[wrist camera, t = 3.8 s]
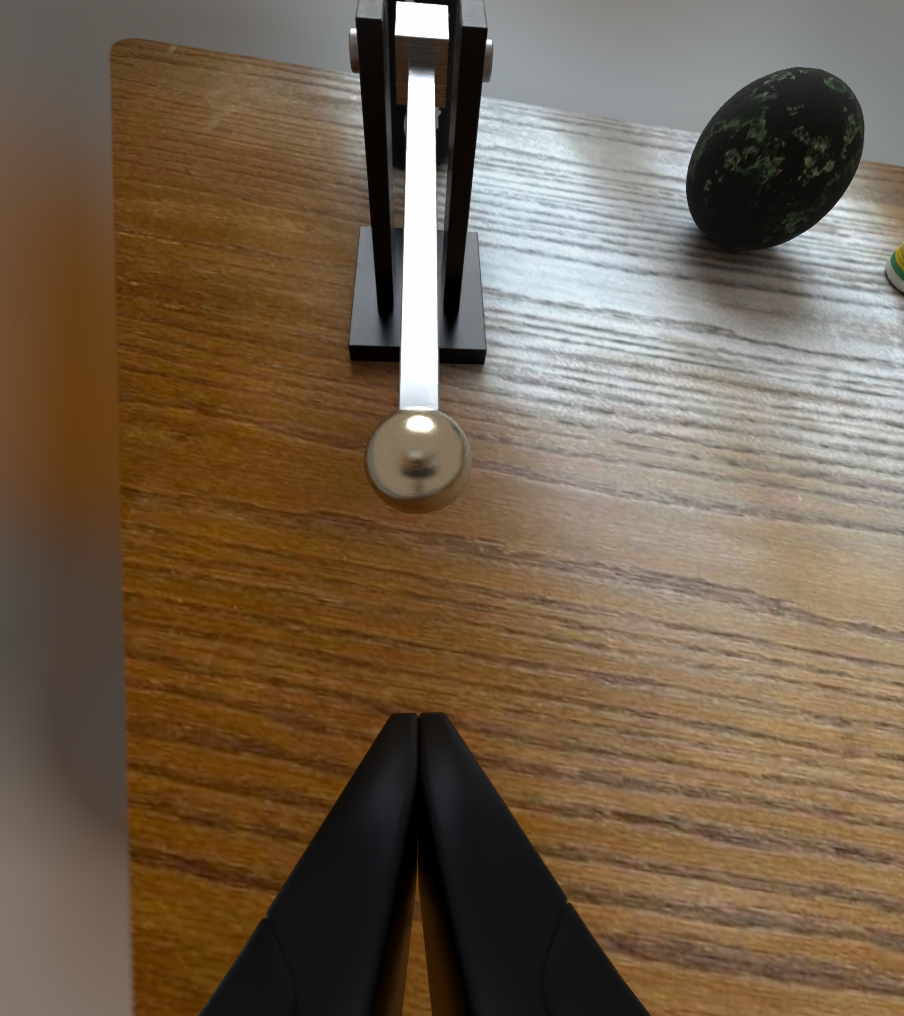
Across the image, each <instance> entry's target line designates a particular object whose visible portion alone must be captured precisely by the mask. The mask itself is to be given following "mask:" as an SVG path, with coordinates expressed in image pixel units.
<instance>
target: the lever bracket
mask: <svg viewBox="0 0 904 1016" xmlns="http://www.w3.org/2000/svg"><path fill="white" fill-rule="evenodd" d="M355 20H356V28H350V30H349V53H350V64H351V70H352V72H353V73H360V86H361V99H362V112H363V125H364V138H365V151H366V164H367V178H368V191H369V204H370V217H371V227H363V226H360V232H359V242H358V252H357V263H356V273H355V283H354V293H353V304H352V314H351V324H350V334H349V344H348V346H349V352H350V359H351V360H363V361H395V362H399V360H400V325H401V291H402V256H403V229H402V228H395V222H394V192H393V162H392V132H391V101H390V71H389V41H388V11H387V0H358V5H357V11H356V18H355ZM487 31H488V28H487V21H486V14H485V6H484V0H457V12H456V29H455V47H454V64H453V81H452V98H451V116H450V133H449V150H448V167H447V184H446V202H445V219H444V231H441V230H437V239H438V313H439V363H457V364H484V362H485V356H486V337H485V324H484V311H483V298H482V285H481V273H480V260H479V247H478V234H477V232H467V228H468V218H469V209H470V199H471V189H472V179H473V169H474V159H475V150H476V140H477V130H478V120H479V110H480V100H481V90H482V82H487V83H488V82H489V81H490V77H491V71H492V61H493V41H492V39H487Z"/></svg>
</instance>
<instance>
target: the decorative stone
mask: <svg viewBox="0 0 904 1016" xmlns="http://www.w3.org/2000/svg"><path fill="white" fill-rule="evenodd" d="M863 142H864V119H863V113H862V109H861V106H860V104H859V102H858V100H857V98H856V96H855V95H854V93H853V92H852V90H851V89H850V88H849V87H848V85H846V83H844V82H843V81H842V80H841V79H839V78H838V77H836V76H834V75H833V74H831V73H828V72H826V71H824V70H820V69H814V68H803V67H795V68H789V69H785V70H781V71H777V72H774V73H772V74H769V75H767V76H765V77H762V78H760V79H758V80H756V81H753V82H752V83H750V84H749V85H747V86H745V87H744V88H742V89H741V90H740V91H738V92H737V93H736V94H735V95H734V96H732V97H731V98H730V99H729V100H728V101H727V102H726V103H725V104H724V105H723V106H722V107H721V108H720V109H719V110H718V111H717V113H716V114H715V115H714V116H713V117H712V119H711V120H710V121H709V123H708V124H707V126H706V127H705V129H704V130H703V132H702V134H701V136H700V138H699V139H698V142H697V144H696V146H695V149H694V151H693V154H692V156H691V160H690V163H689V166H688V172H687V180H686V194H687V201H688V206H689V209H690V213H691V215H692V218H693V220H694V222H695V223H696V225H697V226H698V228H699V229H700V230H701V231H702V233H703V234H705V235H706V236H707V237H708V238H709V239H711V240H712V241H714V242H716V243H718V244H720V245H722V246H725V247H728V248H730V249H734V250H745V251H750V250H760V249H766V248H770V247H773V246H776V245H779V244H782V243H784V242H787V241H789V240H791V239H793V238H795V237H797V236H798V235H800V234H802V233H803V232H805V231H807V230H808V229H809V228H811V227H812V226H814V225H815V224H816V223H817V222H819V221H820V220H821V219H822V218H823V217H824V216H825V215H826V214H827V213H828V212H829V211H830V210H831V209H832V208H833V207H834V206H835V204H836V203H837V202H838V201H839V199H840V198H841V197H842V195H843V194H844V192H845V191H846V189H847V188H848V186H849V184H850V183H851V181H852V179H853V177H854V175H855V173H856V170H857V168H858V165H859V162H860V159H861V155H862V150H863Z"/></svg>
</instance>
